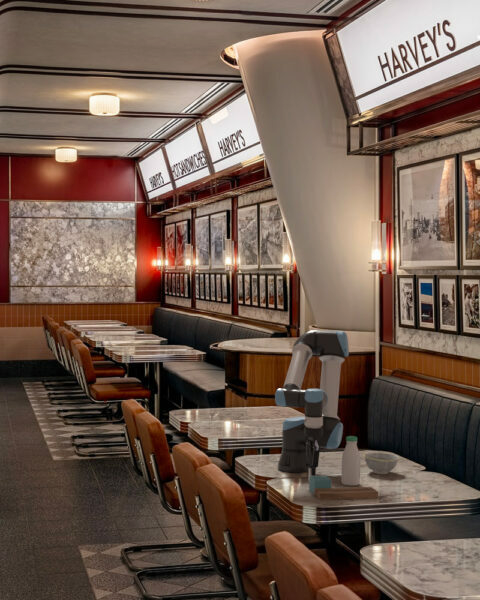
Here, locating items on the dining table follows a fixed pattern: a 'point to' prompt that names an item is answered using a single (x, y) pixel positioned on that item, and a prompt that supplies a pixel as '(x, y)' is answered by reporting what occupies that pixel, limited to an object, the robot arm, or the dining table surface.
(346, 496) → the board
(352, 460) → the milk bottle
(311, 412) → the robot arm
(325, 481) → the block
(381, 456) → the bowl
